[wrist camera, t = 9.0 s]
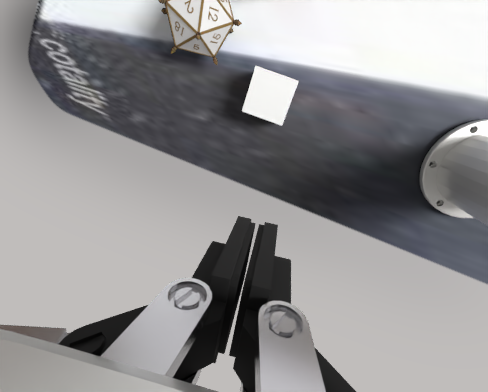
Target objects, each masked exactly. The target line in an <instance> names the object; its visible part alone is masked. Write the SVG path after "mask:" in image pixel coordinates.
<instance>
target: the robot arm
mask: <svg viewBox="0 0 488 392" xmlns="http://www.w3.org/2000/svg"><path fill="white" fill-rule="evenodd" d="M470 128H471V129H470ZM430 162H431V164H430ZM429 164H430V165H429ZM419 182H420V187H421V191H422V193H423V195H424V197H425V198H426V200H427V201H428V202H429V203H430V204H431V205H432V206H433V207H435V208H436V209H437V210H439V211H441V212H442V213H444V214H447V215H450V216H453V217H459V218H475V219H477V220H479V221H480V222H482V223H483V224H485V225H487V226H488V119H481V120H477V121H472V122H469V123H466V124H463V125H460V126H458V127H456V128H455V129H453V130H451V131H449V132H448V133H447V134H445V135H444V136H443V137H441V138H440V139H439V140H438V141H437V142H436V143H435V144H434V145H433V146H432V147H431V149H430V150H429V152H428V153H427V155H426V156H425V159H424V161H423V163H422V166H421V170H420V180H419ZM437 201H438V202H437ZM277 227H278V225H275V224H271V223H266V222H265V225H259V228H258V231H257V235H256V239H255V243H254V247H253V251H252V255H251V259H250V262H249V267H248V271H247V274H246V278H245V282H244V287H243V291H242V296H241V301H240V306H239V311H238V315H237V320H236V325H235V330H234V335H233V340H232V344H231V349H230V354H229V355H230V356H233V357H236V358H235V362H234V367H233V369H234V370H235V372H236V374H237V375H238V377H239V378H240V380H241V382H242V383H241V388H240V392H356V391H355V390H354V389H353V388H352V387H351V386H350V385H349V384H348V383H347V382H346V380H344V378H343V377H342V376H341V375H340V374H339V373H338V372H337V371H336V370H335V369H334V368H333V367H332V365H331V364H330V363H329V362H328V361H327V360H326V359H325V358H324V357H323V356H322V355H321V354H320V353H319V352H318V350H317V349H316V348H315V347H314V343H313V339H312V336H311V332H310V327H309V324H308V321H307V319H306V317H305V315H304V314H303V313H302V312H301V311H300V310H299V309H298V308H297V307H295V306H293V305H292V304H291V260H289V259H285V258H281V257H277V256H274V255H275V246H276V236H277ZM254 228H255V223H251V219H249V218H244V217H240V216H238V218H237V221H236V223H235V225H234V227H233V230H232V232H231V234H230V236H229V238H228V240H227V243H226V244H223V243H219V242H214V241H213V242H212V243H211V245H210V246H209V248H208V250H207V252H206V254H205V255H204V257H203V259H202V261H201V262H200V264H199V266H198V268H197V270H196V271H195V273H194V275H193V277H192V278H182V279H178V280H175V281H173V282H171V283H170V284H169V285H167V286H166V287H165V288H164V289H163V290H162V291H161V292H160V293H159V295H158V296H157V297H156V298H155V299H154V300H153V301H152V302H151V303H150V304H149V305H147V306H143V307H141V308H137V309H134V310H132V311H128V312H125V313H122V314H119V315H116V316H113V317H110V318H107V319H104V320H101V321H98V322H95V323H92V324H89V325H86V326H83V327H81V328H79V329H76V330H74V331H73V332H71V333H67V332H66V328H49V327H29V326H13V325H0V392H217V391H214V390H210V389H207V388H204V387H201V386H197V385H195V384H196V382H197V380H198V378H199V376H200V372H201V369H202V368H204V367H206V366H208V365H209V364H211V363H215V362H216V359H217V355H218V352H219V353H222V354H224V353H225V349H226V345H227V342H228V338H229V334H230V330H231V327H232V323H233V319H234V315H235V311H236V308H237V304H238V300H239V296H240V292H241V289H242V285H243V281H244V277H245V272H246V267H247V262H248V257H249V252H250V247H251V242H252V238H253V232H254Z"/></svg>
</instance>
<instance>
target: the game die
mask: <svg viewBox="0 0 488 392" xmlns="http://www.w3.org/2000/svg"><path fill="white" fill-rule="evenodd" d="M159 2H160V3H165V6H166V9H165V8H163V9H162V10H161V11H162V12H163V13H164V14H167V15H168V19H169V23H170V28H171V32H172V36H173V40H174V44H175V46H174V47H172V49H171V54H172V53H175V51H176V49H177V48H178V49H182V50H186V51H190V52H194V53H198V54H202V55H206V56H209V57H213V61H214V63H215V64H216V65H217V58H216V57H215V56H216V54H217V52H218V51H219V49H220V47H221V46H222V44H223V42H224V40H225V39H226V37H227V35H228V33H229V32H230V33H232V32H233V29H232V26H233V25H234V24H235V25H237V26H239V25H240V24H242V23H241V22H240V21H239V20H237V19H236V20H234V18H233V14H232V10H231V6H230V2H229V0H159Z"/></svg>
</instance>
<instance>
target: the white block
mask: <svg viewBox="0 0 488 392" xmlns="http://www.w3.org/2000/svg"><path fill="white" fill-rule="evenodd" d="M298 82H299V81H297V80H294V79H292V78H289V77H286V76H283V75H280V74H278V73H275V72H272V71H269V70H266V69H264V68H261V67H258V66H256V67H255V70H254V73H253V76H252V80H251V83H250V86H249V89H248V92H247V96H246V99H245V102H244V105H243V109H242V112H245V113H248V114H251V115H253V116H256V117H259V118H262V119H265V120H267V121H270V122H273V123H276V124H278V125H281V126H282V124H283V122H284V119H285V116H286V114H287V111H288V108H289V106H290V103H291V101H292V98H293V95H294V93H295V90H296V87H297V85H298Z"/></svg>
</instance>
